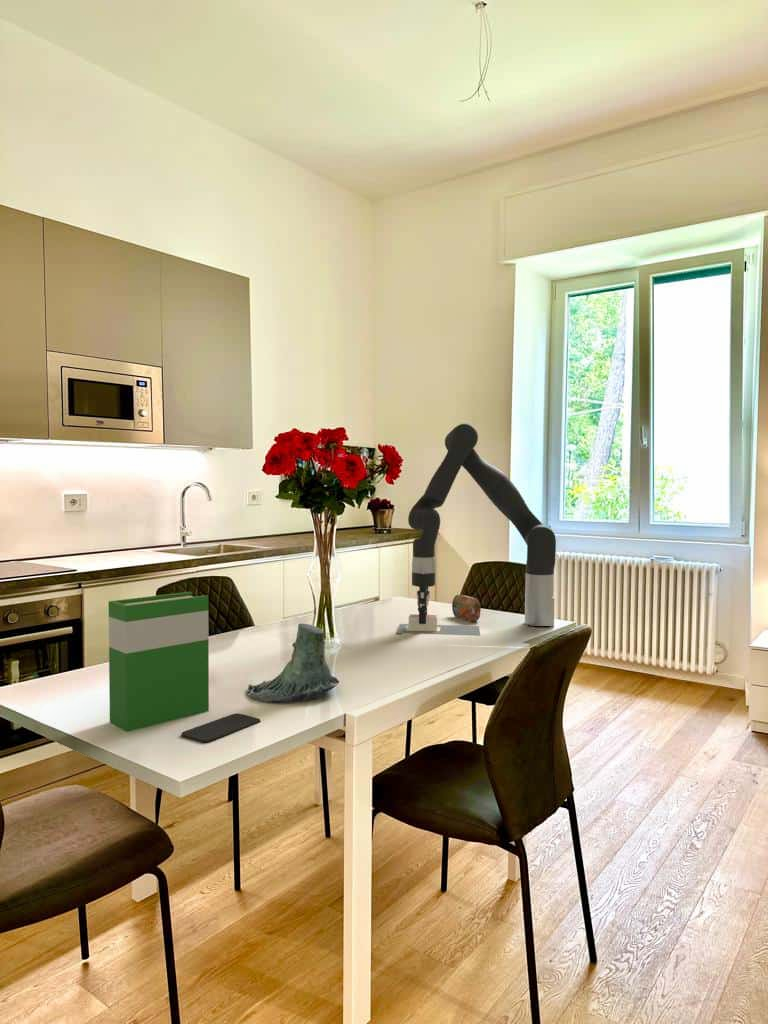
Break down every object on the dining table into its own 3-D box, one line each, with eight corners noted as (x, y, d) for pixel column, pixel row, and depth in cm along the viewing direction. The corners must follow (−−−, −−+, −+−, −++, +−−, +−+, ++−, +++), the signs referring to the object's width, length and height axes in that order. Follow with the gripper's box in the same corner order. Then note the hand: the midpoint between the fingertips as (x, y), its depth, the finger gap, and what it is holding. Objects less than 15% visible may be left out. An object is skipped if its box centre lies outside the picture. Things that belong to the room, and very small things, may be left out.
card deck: (409, 626, 231) (409, 614, 231) (437, 627, 230) (437, 614, 230) (408, 629, 226) (408, 617, 226) (436, 630, 225) (437, 617, 225)
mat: (479, 627, 234) (479, 625, 234) (480, 636, 220) (480, 635, 220) (399, 625, 236) (399, 623, 236) (396, 634, 222) (396, 632, 222)
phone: (263, 719, 142) (206, 741, 129) (263, 723, 142) (206, 746, 129) (236, 712, 146) (178, 733, 133) (236, 716, 146) (178, 737, 133)
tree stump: (260, 680, 172) (278, 609, 171) (338, 705, 169) (358, 632, 169) (234, 700, 154) (254, 619, 153) (321, 727, 151) (343, 646, 151)
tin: (451, 616, 252) (451, 592, 252) (458, 615, 253) (459, 592, 253) (474, 624, 238) (474, 599, 238) (482, 623, 240) (482, 598, 239)
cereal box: (190, 702, 153) (189, 591, 152) (208, 711, 148) (208, 595, 147) (109, 722, 141) (108, 601, 139) (126, 731, 135) (125, 606, 134)
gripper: (413, 567, 235) (412, 616, 236) (410, 573, 221) (409, 625, 222) (436, 568, 234) (435, 617, 235) (434, 573, 220) (434, 626, 221)
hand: (423, 621), depth 228 cm, fingers open, 8 cm apart
